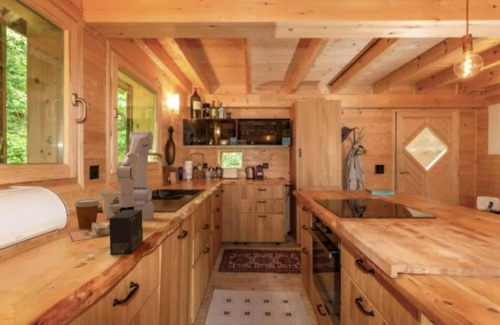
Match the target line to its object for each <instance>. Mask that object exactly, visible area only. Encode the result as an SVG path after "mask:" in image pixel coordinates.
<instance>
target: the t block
mask: <svg viewBox="0 0 500 325" xmlns="http://www.w3.org/2000/svg"><path fill="white" fill-rule="evenodd" d="M91 229H92V231H93V232H94V234H95V235H96V236H103V235H108V232H110V221H109V222H104V221H103V220H102V221H96V222H94V223H92V227H91Z"/></svg>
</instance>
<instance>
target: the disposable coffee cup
mask: <svg viewBox="0 0 500 325" xmlns="http://www.w3.org/2000/svg"><path fill="white" fill-rule="evenodd" d="M100 203H101V202H100V201H99V199H97V198H87V199H79V200H76V201H75V203H74V207H75V211H76V212H75V213H76V218H77V223H78V228H79V229H92V223H94V222H98V221H97V219H98V213H99V211H98V210H99V205H100Z"/></svg>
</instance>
